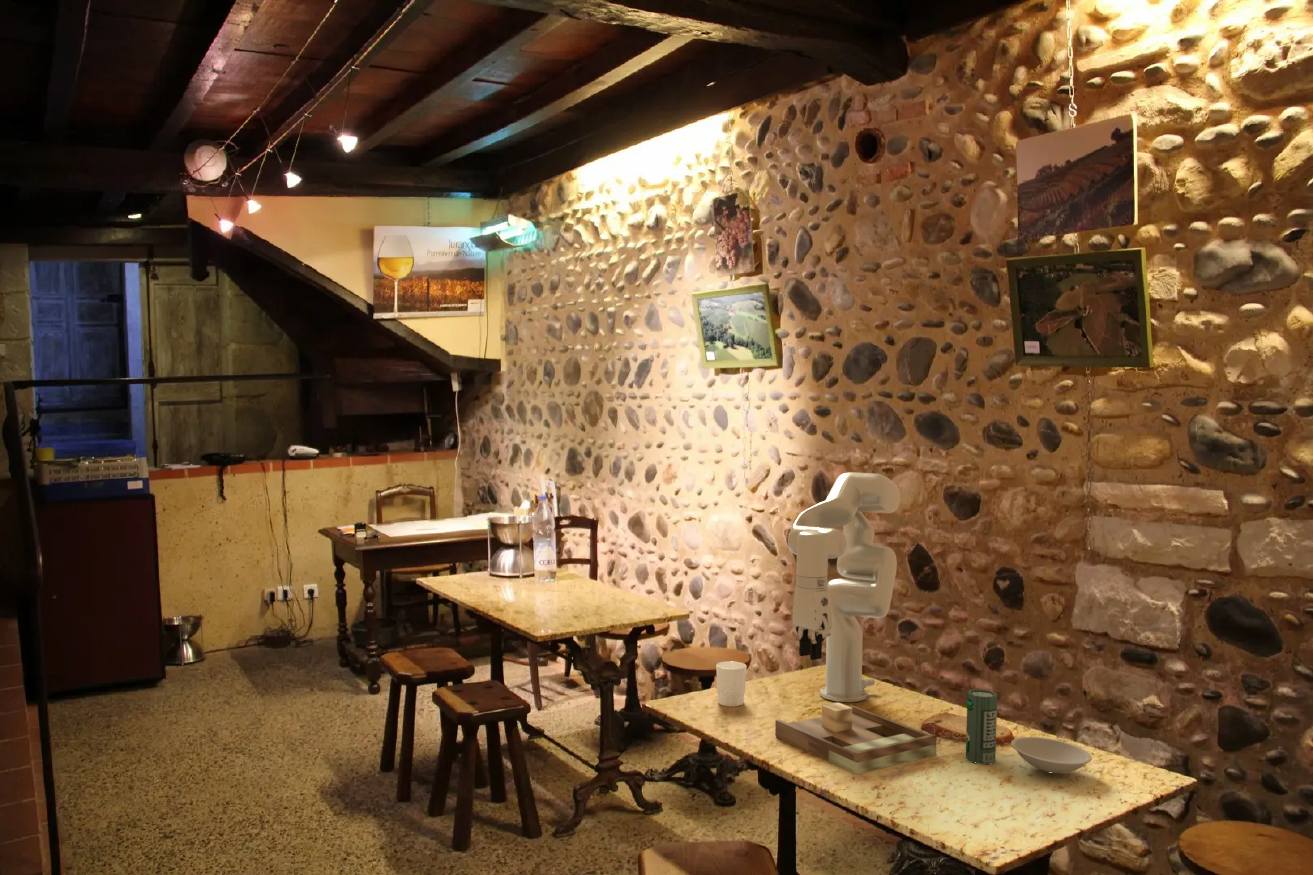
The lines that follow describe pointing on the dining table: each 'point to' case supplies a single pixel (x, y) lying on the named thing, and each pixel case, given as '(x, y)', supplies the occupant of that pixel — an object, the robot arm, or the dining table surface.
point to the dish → (1051, 754)
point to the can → (981, 726)
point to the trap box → (860, 741)
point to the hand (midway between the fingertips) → (810, 656)
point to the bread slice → (959, 728)
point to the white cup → (731, 683)
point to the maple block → (836, 717)
